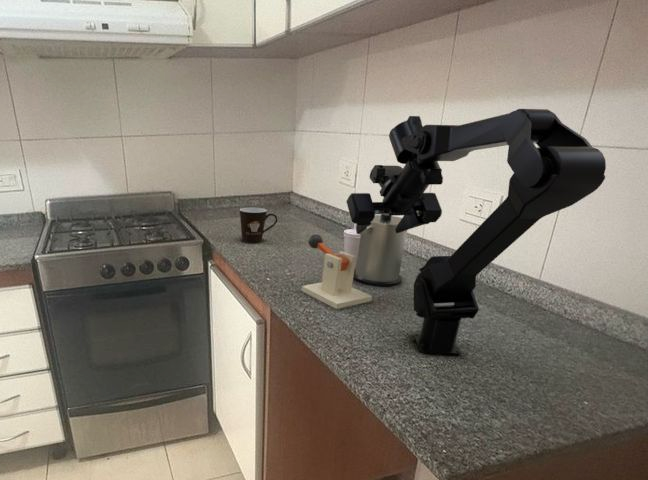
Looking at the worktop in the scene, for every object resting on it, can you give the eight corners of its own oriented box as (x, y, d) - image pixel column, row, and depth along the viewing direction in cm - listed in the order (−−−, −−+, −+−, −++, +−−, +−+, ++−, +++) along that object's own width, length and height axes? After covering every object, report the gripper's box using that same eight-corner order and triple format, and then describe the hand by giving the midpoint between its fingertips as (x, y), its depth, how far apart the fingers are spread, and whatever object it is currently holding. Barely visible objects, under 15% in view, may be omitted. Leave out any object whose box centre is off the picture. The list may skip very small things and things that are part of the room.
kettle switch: (304, 244, 103) (308, 232, 101) (315, 243, 104) (319, 231, 102) (335, 273, 95) (340, 261, 93) (346, 271, 97) (351, 259, 95)
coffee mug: (235, 242, 142) (236, 211, 138) (243, 236, 149) (244, 206, 145) (270, 246, 138) (272, 214, 134) (276, 240, 146) (278, 209, 142)
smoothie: (334, 264, 122) (340, 213, 116) (354, 262, 124) (361, 212, 118) (348, 271, 116) (355, 218, 111) (368, 269, 119) (376, 217, 113)
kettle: (372, 293, 102) (383, 222, 95) (335, 278, 111) (343, 212, 105) (416, 281, 110) (430, 215, 103) (379, 268, 119) (389, 207, 112)
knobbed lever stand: (301, 292, 102) (304, 250, 98) (334, 285, 106) (339, 245, 102) (336, 310, 92) (342, 265, 88) (371, 302, 97) (378, 259, 93)
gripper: (443, 151, 88) (406, 202, 102) (355, 150, 85) (329, 203, 99) (461, 195, 83) (419, 242, 97) (369, 196, 80) (339, 244, 94)
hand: (376, 231), depth 97 cm, fingers open, 9 cm apart
